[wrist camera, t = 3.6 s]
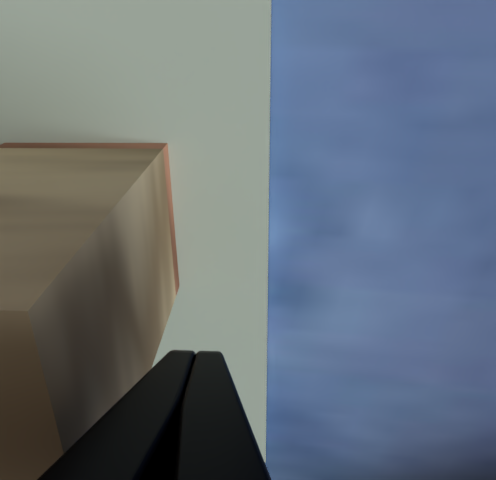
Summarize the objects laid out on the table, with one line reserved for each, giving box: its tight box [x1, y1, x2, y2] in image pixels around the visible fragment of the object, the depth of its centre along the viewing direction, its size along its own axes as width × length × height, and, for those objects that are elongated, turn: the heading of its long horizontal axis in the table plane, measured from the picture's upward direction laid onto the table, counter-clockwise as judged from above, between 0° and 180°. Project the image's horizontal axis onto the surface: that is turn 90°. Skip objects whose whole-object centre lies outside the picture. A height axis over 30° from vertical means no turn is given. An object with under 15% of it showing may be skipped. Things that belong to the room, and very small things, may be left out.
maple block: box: [0, 143, 179, 480], centre depth 10 cm, size 4×4×8 cm
